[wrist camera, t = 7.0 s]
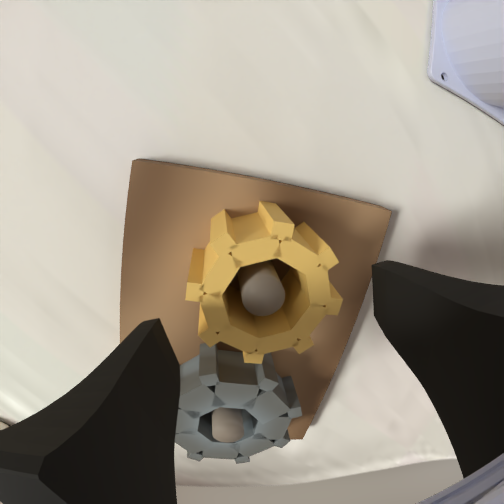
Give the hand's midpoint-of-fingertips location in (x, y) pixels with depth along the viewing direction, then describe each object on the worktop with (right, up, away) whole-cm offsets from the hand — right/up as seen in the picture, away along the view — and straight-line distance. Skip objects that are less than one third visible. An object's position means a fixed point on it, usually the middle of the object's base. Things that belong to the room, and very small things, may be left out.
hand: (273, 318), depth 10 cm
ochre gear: (-1, +2, +4) cm, 5 cm away
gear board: (-2, -2, +7) cm, 7 cm away
